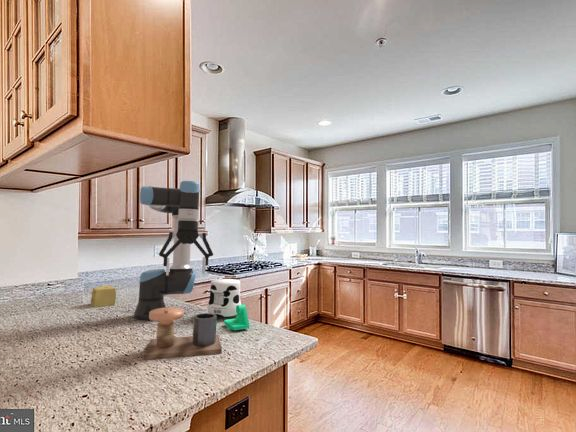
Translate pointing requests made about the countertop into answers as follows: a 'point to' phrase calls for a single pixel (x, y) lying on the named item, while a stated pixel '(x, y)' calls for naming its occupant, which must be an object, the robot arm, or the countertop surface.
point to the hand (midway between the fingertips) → (185, 274)
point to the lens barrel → (204, 329)
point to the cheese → (103, 296)
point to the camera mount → (238, 319)
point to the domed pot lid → (166, 315)
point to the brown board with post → (176, 345)
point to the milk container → (224, 297)
